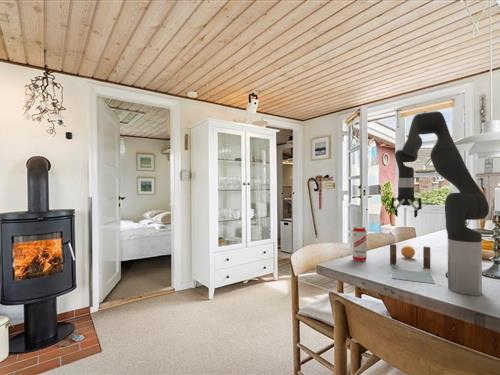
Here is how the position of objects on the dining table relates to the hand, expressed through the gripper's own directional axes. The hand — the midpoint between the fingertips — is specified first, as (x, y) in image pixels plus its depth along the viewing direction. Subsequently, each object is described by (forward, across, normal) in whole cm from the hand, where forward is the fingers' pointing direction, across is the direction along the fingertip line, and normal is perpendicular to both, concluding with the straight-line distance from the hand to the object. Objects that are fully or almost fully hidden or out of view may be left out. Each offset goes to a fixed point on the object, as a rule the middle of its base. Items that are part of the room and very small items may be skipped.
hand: (405, 216), depth 149 cm
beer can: (+19, -21, -27) cm, 39 cm away
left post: (+19, -6, -27) cm, 34 cm away
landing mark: (+18, 0, -43) cm, 47 cm away
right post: (+19, +7, -27) cm, 34 cm away
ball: (+16, 0, -11) cm, 20 cm away
